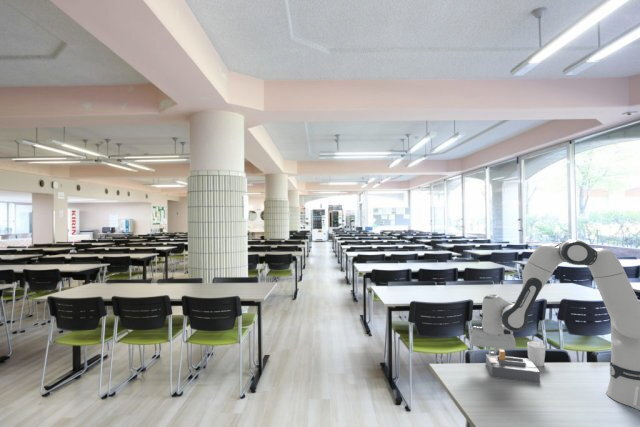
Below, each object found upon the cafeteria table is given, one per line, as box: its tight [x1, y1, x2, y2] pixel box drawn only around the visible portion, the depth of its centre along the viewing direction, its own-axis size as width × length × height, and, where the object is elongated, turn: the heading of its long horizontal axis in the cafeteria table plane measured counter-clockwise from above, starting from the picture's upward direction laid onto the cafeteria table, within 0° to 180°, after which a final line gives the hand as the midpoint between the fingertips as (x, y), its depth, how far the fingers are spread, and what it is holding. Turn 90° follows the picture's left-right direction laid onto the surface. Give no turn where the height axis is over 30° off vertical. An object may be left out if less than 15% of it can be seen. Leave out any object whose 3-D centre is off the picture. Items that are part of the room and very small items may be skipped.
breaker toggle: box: [498, 348, 506, 360], centre depth 163 cm, size 2×3×5 cm, turn 164°
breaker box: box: [485, 353, 541, 384], centre depth 162 cm, size 20×14×7 cm
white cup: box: [526, 341, 546, 367], centre depth 172 cm, size 8×8×10 cm
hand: (492, 355), depth 165 cm, fingers closed
